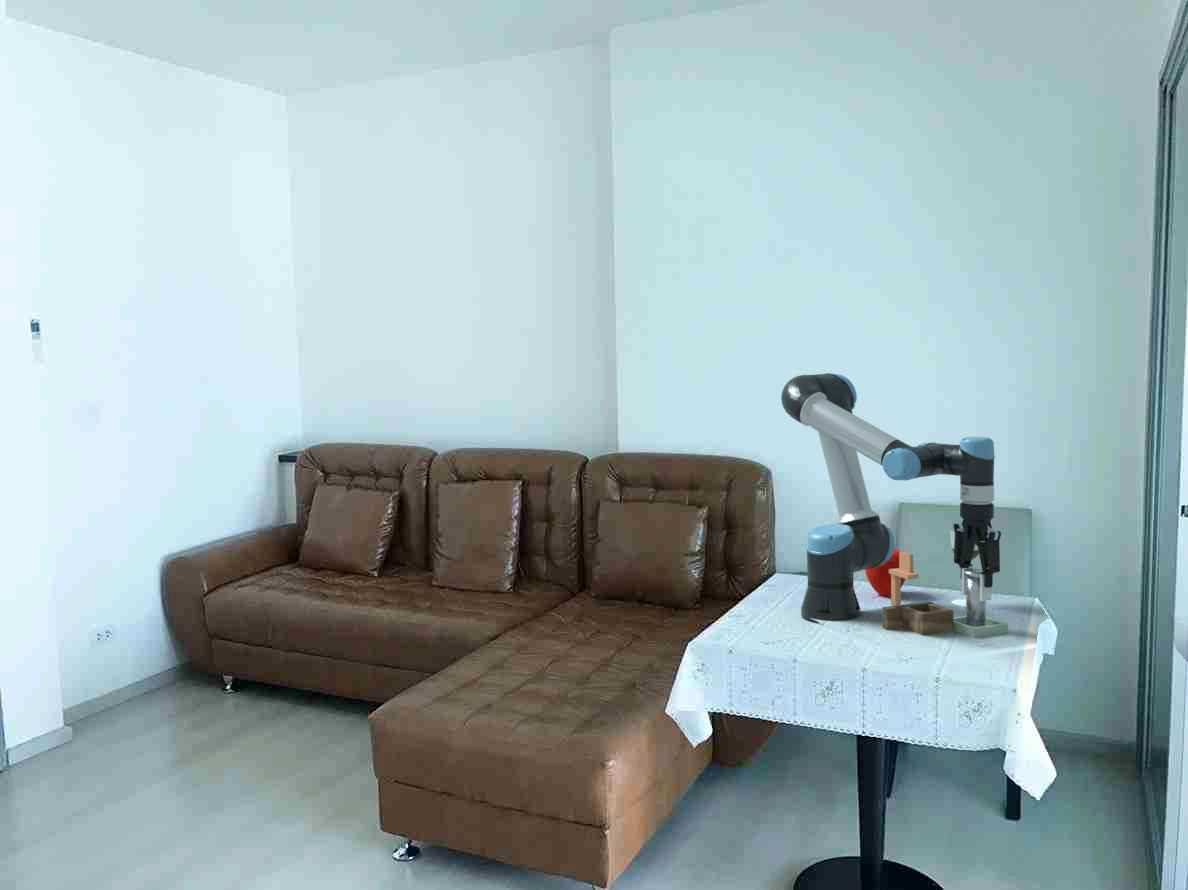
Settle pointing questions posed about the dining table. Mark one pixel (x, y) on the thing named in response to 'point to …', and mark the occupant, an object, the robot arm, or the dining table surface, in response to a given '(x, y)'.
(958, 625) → the dish
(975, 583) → the pin
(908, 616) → the block
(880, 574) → the apple
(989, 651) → the dining table surface
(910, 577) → the keeper
